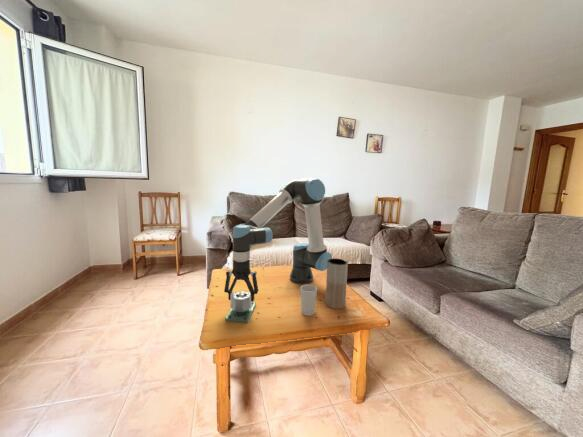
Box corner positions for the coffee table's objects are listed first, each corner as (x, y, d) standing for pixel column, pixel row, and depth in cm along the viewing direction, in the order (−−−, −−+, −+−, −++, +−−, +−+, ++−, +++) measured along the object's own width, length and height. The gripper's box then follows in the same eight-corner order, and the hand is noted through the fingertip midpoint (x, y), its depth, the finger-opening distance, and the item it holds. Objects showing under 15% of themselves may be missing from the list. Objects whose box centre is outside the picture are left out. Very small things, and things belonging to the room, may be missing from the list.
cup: (302, 317, 108) (303, 292, 106) (297, 308, 116) (298, 285, 114) (318, 315, 110) (319, 290, 109) (312, 306, 118) (313, 283, 116)
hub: (251, 303, 114) (251, 291, 113) (247, 312, 106) (247, 299, 105) (235, 302, 115) (235, 291, 114) (230, 311, 107) (230, 298, 106)
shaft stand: (255, 304, 118) (255, 287, 117) (247, 322, 103) (247, 303, 101) (236, 303, 119) (235, 286, 118) (225, 321, 103) (225, 302, 102)
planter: (321, 304, 121) (323, 260, 118) (332, 297, 128) (334, 257, 125) (338, 311, 114) (340, 265, 111) (349, 304, 121) (351, 261, 118)
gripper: (265, 258, 111) (265, 304, 114) (221, 256, 112) (222, 301, 115) (262, 263, 103) (262, 312, 106) (215, 261, 104) (216, 309, 107)
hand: (241, 306), depth 110 cm, fingers closed on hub, 8 cm apart
